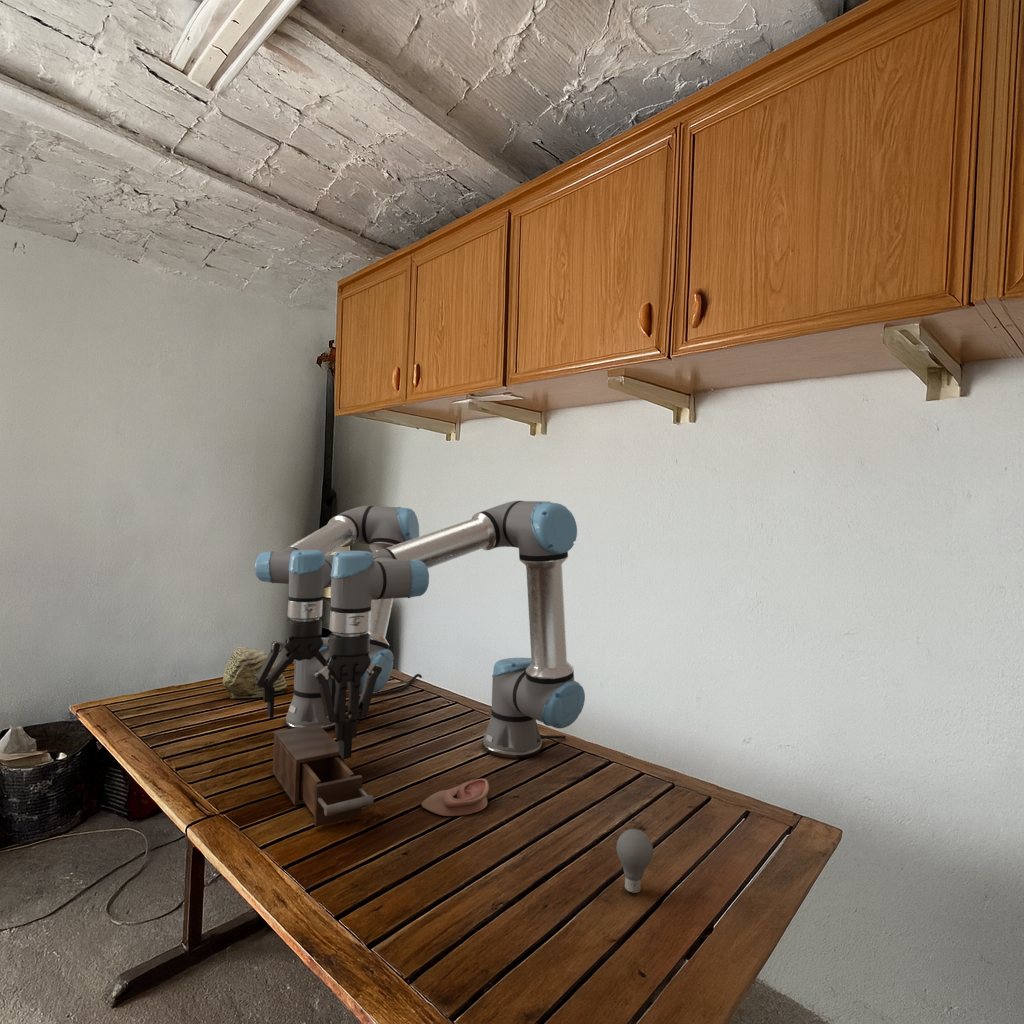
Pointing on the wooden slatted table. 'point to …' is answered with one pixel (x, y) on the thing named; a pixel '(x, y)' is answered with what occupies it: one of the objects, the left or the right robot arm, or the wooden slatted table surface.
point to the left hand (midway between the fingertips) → (301, 711)
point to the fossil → (248, 674)
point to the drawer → (331, 790)
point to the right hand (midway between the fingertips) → (344, 755)
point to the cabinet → (299, 755)
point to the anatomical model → (459, 799)
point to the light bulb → (634, 857)
